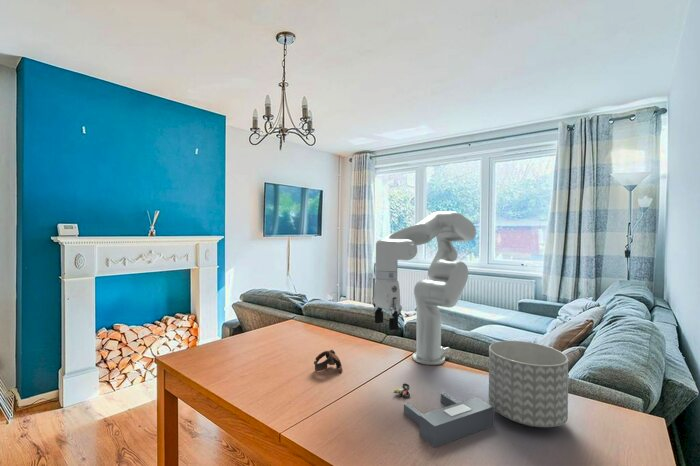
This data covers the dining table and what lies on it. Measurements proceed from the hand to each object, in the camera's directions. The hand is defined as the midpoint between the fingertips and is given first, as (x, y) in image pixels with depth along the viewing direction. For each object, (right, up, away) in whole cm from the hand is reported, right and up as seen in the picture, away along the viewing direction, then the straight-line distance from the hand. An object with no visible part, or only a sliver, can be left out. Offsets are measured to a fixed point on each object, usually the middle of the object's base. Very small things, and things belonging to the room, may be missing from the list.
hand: (385, 325), depth 115 cm
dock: (+13, -18, -25) cm, 34 cm away
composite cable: (+5, -19, -9) cm, 22 cm away
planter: (+36, -19, -24) cm, 47 cm away
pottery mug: (-20, -19, +7) cm, 28 cm away
